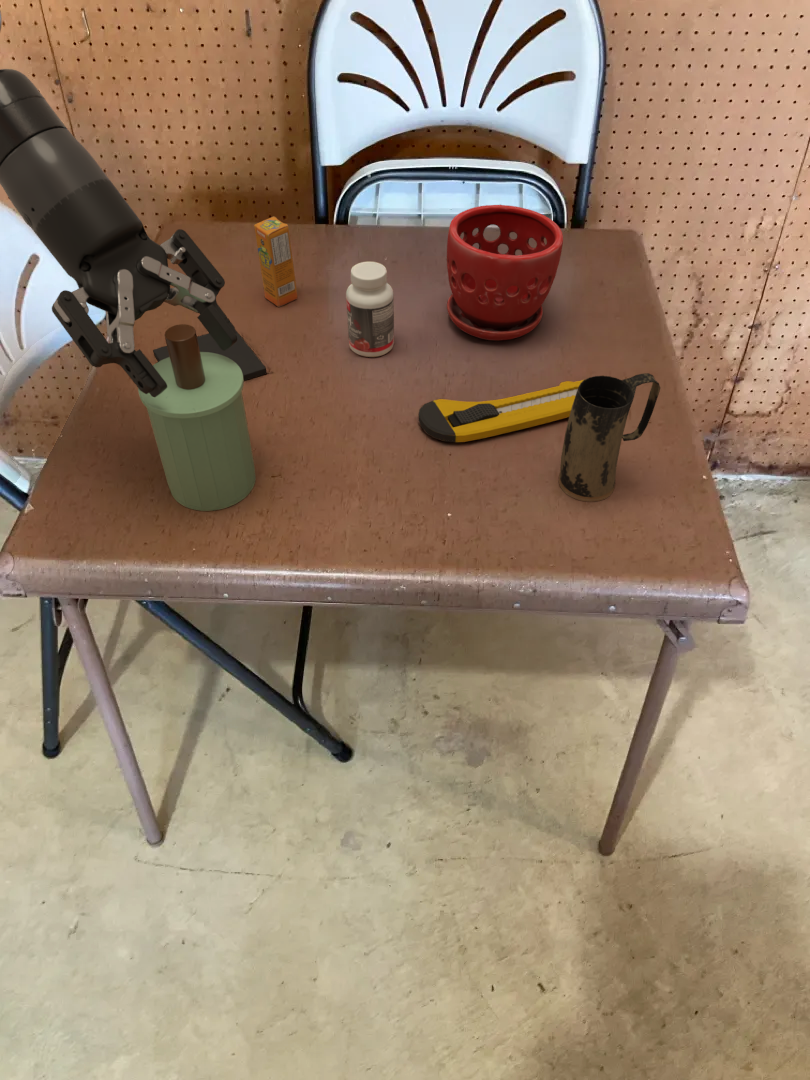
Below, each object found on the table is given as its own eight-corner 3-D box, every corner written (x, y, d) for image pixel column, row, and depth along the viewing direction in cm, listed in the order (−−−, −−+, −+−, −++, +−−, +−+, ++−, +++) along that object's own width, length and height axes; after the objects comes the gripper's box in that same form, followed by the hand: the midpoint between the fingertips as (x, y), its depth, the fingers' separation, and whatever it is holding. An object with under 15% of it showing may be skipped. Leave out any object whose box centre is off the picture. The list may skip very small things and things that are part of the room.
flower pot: (480, 362, 98) (488, 267, 89) (424, 308, 105) (426, 216, 97) (572, 333, 102) (587, 239, 93) (512, 283, 110) (521, 192, 101)
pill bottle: (339, 344, 100) (334, 269, 93) (373, 327, 102) (371, 252, 95) (369, 364, 97) (366, 287, 90) (403, 346, 100) (403, 270, 93)
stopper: (160, 437, 71) (144, 376, 67) (127, 381, 77) (110, 321, 72) (261, 403, 74) (251, 343, 70) (222, 352, 80) (211, 293, 75)
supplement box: (261, 298, 107) (251, 222, 100) (284, 289, 109) (275, 214, 101) (277, 309, 105) (267, 233, 98) (299, 299, 107) (291, 224, 100)
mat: (183, 400, 92) (182, 394, 92) (154, 355, 98) (152, 349, 98) (267, 373, 96) (266, 367, 95) (233, 331, 102) (232, 325, 101)
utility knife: (411, 415, 91) (412, 400, 89) (595, 371, 96) (598, 357, 95) (436, 454, 86) (436, 439, 85) (626, 406, 92) (630, 391, 90)
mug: (568, 506, 81) (588, 406, 72) (548, 468, 85) (565, 369, 76) (644, 493, 82) (673, 393, 74) (621, 456, 86) (646, 358, 77)
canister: (187, 522, 80) (162, 427, 71) (158, 471, 85) (131, 376, 76) (269, 492, 82) (254, 397, 74) (236, 444, 87) (218, 349, 79)
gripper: (8, 214, 62) (151, 395, 66) (151, 150, 70) (271, 314, 74) (-12, 260, 68) (121, 424, 72) (122, 196, 76) (235, 346, 80)
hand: (197, 368), depth 73 cm, fingers open, 8 cm apart
